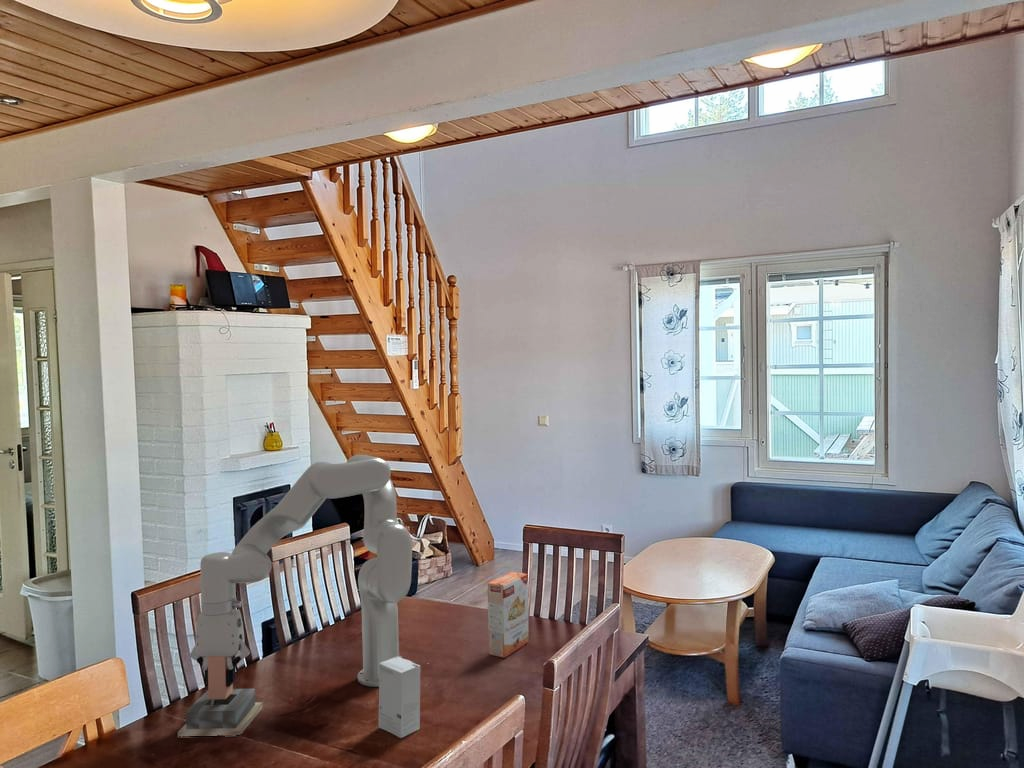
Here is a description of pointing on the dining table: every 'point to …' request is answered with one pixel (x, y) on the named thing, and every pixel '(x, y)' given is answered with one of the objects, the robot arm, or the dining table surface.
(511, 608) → the cracker box
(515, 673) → the dining table surface
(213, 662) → the peg
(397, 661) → the skincare box
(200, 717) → the socket block
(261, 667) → the dining table surface
